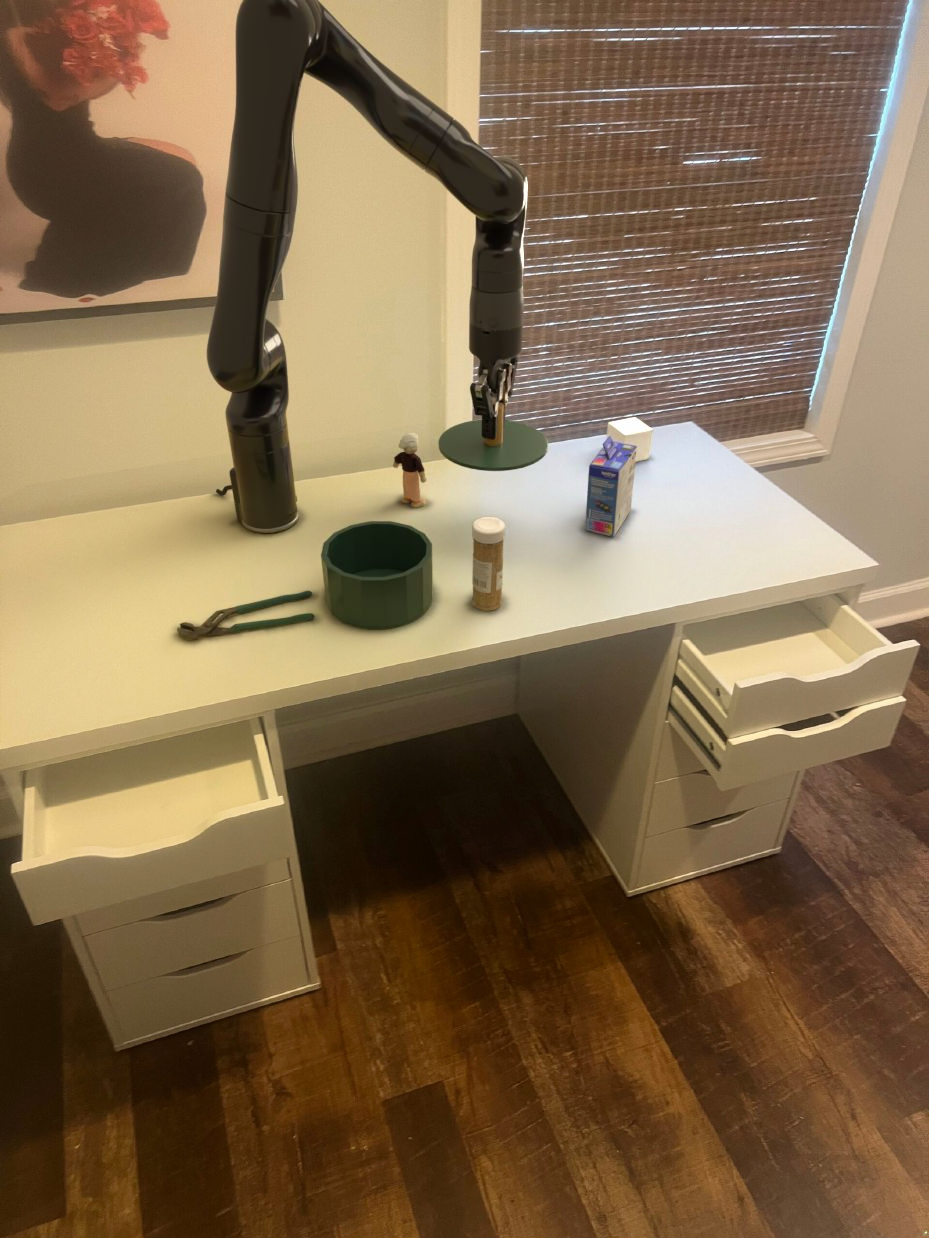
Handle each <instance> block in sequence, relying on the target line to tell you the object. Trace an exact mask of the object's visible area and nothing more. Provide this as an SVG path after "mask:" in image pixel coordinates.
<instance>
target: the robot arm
mask: <svg viewBox="0 0 929 1238" xmlns="http://www.w3.org/2000/svg"><path fill="white" fill-rule="evenodd" d="M238 7H239V8H238V12H237V14H236V19H235V20H236V22H235V109H234V110H235V111H234V119H233V127H232V134H231V141H230V150H229V159H228V169H227V178H226V183H225V193H224V202H223V203H224V204H223V205H224V206H223V213H222V214H223V215H222V234H221V245H220V247H221V248H220V255H219V267H218V268H219V269H218V284H217V293H216V299H215V304H214V310H213V314H212V320H211V325H210V328H209V329H210V330H209V333H208V338H207V345H206V364H207V367H208V369H209V373H210V374H211V376H212V378H213V380H214V381H215V382H216V383H217V385H219V387H221V388H222V389H223V390H225V391H227V392H228V393H231V394H230V397H229V400H228V402H227V405H226V407H225V412H224V415H225V423H226V428H227V434H228V440H229V447H230V452H231V458H232V468H230V470H229V473H228V474H229V478H230V480H229V481H230V484H229V485H225V486H224V487H223V488H222V490H221V489H220V488H217V489H216V490H215V493H216V494H218V495H220V496H225V495H226V494H227V493H228V491H229V490H231V491H232V498H233V503H234V509H235V517H236V521H237V523H239V524H242V526H243V527H244V528H245V529H247V530H248V531H251V532H254V533H259V534H273V533H279V532H282V531H285V530H287V529H291V528H292V527H293V526H295V524H297V523H298V521H299V518H300V514H299V510H298V497H297V493H296V485H295V476H294V469H293V468H294V467H293V460H292V452H291V451H292V450H291V443H290V436H289V425H288V418H287V410H288V408H289V407H288V406H289V400H290V390H289V389H290V388H289V375H288V360H287V353H286V352H287V351H286V347H285V344H284V341H283V338H282V335H281V333H280V332H279V330H278V329H277V327H276V326H275V325H274V324H273V322H271V321H270V320H269V319H267V312H268V307H269V303H270V300H271V297H272V294H273V292H274V289H275V287H276V284H277V283H278V280H279V277H280V275H281V273H282V270H283V267H284V265H285V263H286V260H287V256H288V254H289V251H290V247H291V244H292V239H293V235H294V228H295V221H296V213H297V206H298V198H299V197H298V196H299V195H298V194H299V179H298V168H297V167H298V166H297V159H296V149H295V136H294V135H295V132H294V131H295V120H296V113H297V108H298V101H299V96H300V91H301V87H302V82H303V79H304V74H305V75H307V76H309V77H311V78H313V79H315V80H316V81H318V82H320V83H322V84H323V85H325V86H326V87H328V88H329V89H331V90H332V91H334V92H335V93H337V94H338V95H339V96H340V97H341V98H343V99H344V100H345V101H346V102H347V103H348V104H350V105H351V106H352V107H353V108H354V109H355V110H356V111H357V112H358V113H359V114H360V115H361V116H362V118H363V119H364V120H365V121H366V122H367V123H368V124H369V125H370V126H371V128H373V130H375V132H377V134H378V135H379V136H380V137H381V138H382V139H383V140H384V141H385V142H387V144H389V145H390V147H392V148H393V149H394V150H396V151H397V152H398V153H400V155H402V156H403V157H404V158H406V159H407V160H409V161H410V162H412V164H413V165H415V166H417V167H418V168H420V169H421V170H422V171H424V172H425V173H426V174H428V175H429V176H430V177H432V178H434V179H436V181H438V182H439V183H440V184H441V185H442V186H443V187H444V188H445V189H446V190H447V191H448V193H450V194H451V195H452V197H454V198H455V199H456V200H457V201H458V202H459V203H460V204H461V205H462V206H463V207H464V208H465V209H466V210H468V211H469V212H470V213H471V214H472V215H474V216H475V239H474V243H473V248H472V255H471V288H470V295H469V305H468V306H469V310H468V311H469V313H468V314H469V315H468V317H469V318H468V322H469V323H468V349H469V352H470V354H472V355H473V356H475V357H476V358H477V359H478V360H479V365H478V367H477V371H476V377H477V383H475V382H471V383H470V385H469V392H470V397H471V401H472V406H473V411H474V415H475V416H479V417H480V416H481V420H482V437H483V438H486V439H491V440H494V439H495V438H496V437H497V416H498V415H497V414H498V402H501V403H503V405H504V413H503V429H504V428H505V420H506V408H507V405H508V404H509V398H512V396H513V391H514V386H515V379H516V375H517V369H518V368H517V367H518V363H519V357H518V356H519V355H520V354H521V353H522V350H523V331H524V311H525V301H524V299H525V297H524V290H523V289H524V287H523V286H524V268H525V256H524V237H525V236H524V234H525V227H526V217H527V206H528V193H529V182H528V177H527V174H526V171H525V170H524V168H523V166H522V165H521V164H520V163H519V161H517V160H516V159H514V158H512V157H510V156H506V155H498V156H493V155H492V154H491V153H490V152H489V151H487V150H486V149H485V148H484V147H482V146H481V145H479V144H478V143H477V142H476V141H475V140H474V139H473V137H472V136H471V134H470V132H469V131H468V129H467V128H466V127H465V126H464V125H463V124H462V123H461V122H459V120H457V119H456V118H454V117H453V116H452V115H451V114H449V113H448V112H446V111H445V110H444V109H443V108H441V107H440V106H439V105H437V104H436V103H435V102H434V101H432V100H431V99H430V98H428V97H427V96H425V95H424V94H423V93H422V92H420V91H419V90H417V89H416V88H415V87H413V86H412V85H411V84H410V83H408V82H407V81H406V80H404V79H403V78H402V77H400V75H398V74H396V73H395V72H394V71H393V70H391V68H389V67H388V66H387V65H386V64H384V63H383V62H381V61H380V60H379V59H378V58H377V57H375V55H374V54H372V53H371V52H370V51H369V50H368V49H367V48H366V47H365V46H364V45H362V44H361V43H360V41H359V40H358V39H356V38H355V37H354V36H353V35H352V34H351V33H350V32H349V31H348V30H347V29H346V28H345V27H344V26H343V25H342V24H341V22H340V21H339V20H337V18H336V17H335V16H334V15H333V14H332V13H331V12H330V11H329V10H328V9H327V8H326V7H325V6H324V4H322V2H321V1H320V0H242V1H241V3H240V4H239V6H238ZM492 402H493V406H492Z"/></svg>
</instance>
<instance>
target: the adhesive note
mask: <svg viewBox="0 0 929 1238" xmlns="http://www.w3.org/2000/svg"><path fill="white" fill-rule="evenodd" d="M653 431H654V429H653V428H651V427H650V426H649V425H647V424H646V423H645V422H643V421H642V420H640V419H639V418H637V417H635V416H634V417H628V418H624V419H618V420H614V421H609V422H607V429H606V438H605V440H606V439H607V438H608V437H609V436H611V438H612V440H613V441H615V442H619V443H624V444H629V445H635V446H637V454H636V463H637V462H641V461H646V460H649V459H650V453H651V447H652V446H651V445H652V439H653Z"/></svg>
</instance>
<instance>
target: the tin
mask: <svg viewBox="0 0 929 1238" xmlns="http://www.w3.org/2000/svg"><path fill="white" fill-rule="evenodd" d="M320 559H321V569H322V579H323V586H324V587H323V588H324V589H323V590H324V597H325V602H326V606H327V608H328V610H329V612H330V614H331V615H332V616H333V617H334V618H335V619H337V620H338V621H339V622H341V623H343V624H345V625H347V626H350V627H353V628H358V629H363V630H370V631H371V630H374V631H378V630H379V631H380V630H391V629H396V628H400V627H404V626H406V625H409V624H411V623H413V622H415V621H417V620H418V619H420V618H422V617H423V616H424V615H425V614H426V613H427V612H428V611H429V609H430V607H431V606H432V603H433V598H434V573H433V570H434V569H433V567H434V566H433V543H432V541H431V540H430V539H429V537H428V535H426V533H425V532H423V531H421V530H420V529H418V528H415V527H414V526H412V525H410V524H405V523H401V522H397V521H392V520H370V521H365V522H358V523H353V524H350V525H348V526H345V527H344V528H341V529H339V530H337V531H335V532H333V533H332V534H331V535H330V536H329V537H328V538H327V539H326V540H325V541H324V542H323V544H322V549H321V553H320Z"/></svg>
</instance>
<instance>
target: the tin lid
mask: <svg viewBox="0 0 929 1238" xmlns="http://www.w3.org/2000/svg"><path fill="white" fill-rule="evenodd" d="M492 406H493V402H492ZM503 413H504V405H503V403H501V402H498V414H497V415H498V416H497V437H496V438H495V439H494V440H491V439H486V438H483V437H482V419H474V420H469V421H465V422H461V423H458V424H455V425H453V426H451V427H449V428H447V429H446V430H444V431H443V432H442V433H441V435H440V436H439V438H438V450H439V452H440V454H441V456H443V457H444V458H445V459H446V460H448V461H450V462H451V463H453V464H455V465H458V466H460V467H463V468H466V469H470V470H476V471H484V472H485V471H486V472H505V471H515V470H519V469H524V468H527V467H529V466H532V465H534V464H536V463H538V462H539V461H541V460H542V459H543V458H544V457H545V456H546V454H547V453H548V450H549V442H548V439H547V437H546V436H545V434H543V433H542V432H541V431H540V430H538V429H537V428H535V427H533V426H531V425H528V424H526V423H523V422H520V421H519V422H518V421H514V420H509V419H505V428H504V429H503Z"/></svg>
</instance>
